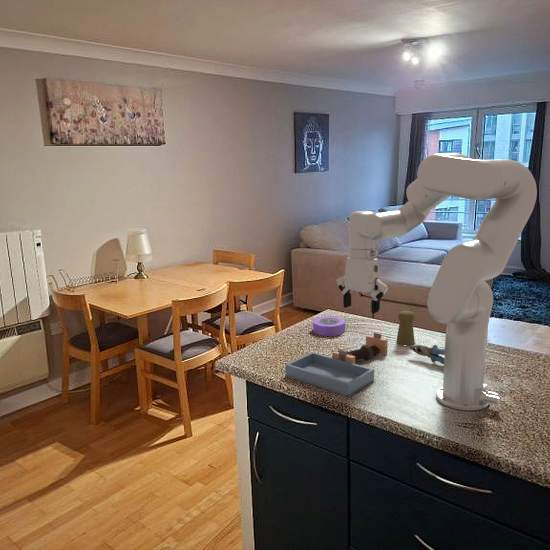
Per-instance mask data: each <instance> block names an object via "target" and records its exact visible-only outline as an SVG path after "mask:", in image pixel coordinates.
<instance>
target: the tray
mask: <svg viewBox="0 0 550 550" xmlns="http://www.w3.org/2000/svg"><path fill="white" fill-rule="evenodd" d="M285 377H287V378H291V379H294V380H295V381H296V380H297V381H300V382H303V383H306V384H309V385H312V386H315V387H317V386H318V387H317V388H320V387H321V388H320V389H324V390H327V391H329V392H332V393H335V394H338V395H341V396H345V397H347V398H350V397H351V396H353V395H354V394H356V393H358V392H359V391H360V390H363V389H364V388H365V387H367V386H369V385H371V384H372V383H374V382H375V369H374V368H369V367H367V366H363V365H360V364H356V363H355V364H353V363H350V362H346V361H342V360H339V359H335V358H332V356H328V355H324V354H321V353H318V352H315V351H314V352H313V351H312V352H309V353H307V354H305V355H303V356H300V357H299V358H297V359H294V360H292V361H290V362H288V363H285Z"/></svg>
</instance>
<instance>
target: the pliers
mask: <svg viewBox="0 0 550 550" xmlns="http://www.w3.org/2000/svg"><path fill="white" fill-rule="evenodd" d="M409 350H411V351H412V352H414V353H415V354H417V355H418V356H419V355H420V356H422V357H427V358H429V359H430V361H431V362H432V363H435V362H438V363H440V364H441V365H444V358H445V357H443V356H445V348H439V347H438V345H437V344H433V345H432V346H431V347H428V346H426V345H422V344H414V345H411V346H409Z"/></svg>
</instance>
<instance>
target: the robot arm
mask: <svg viewBox="0 0 550 550" xmlns="http://www.w3.org/2000/svg"><path fill="white" fill-rule="evenodd" d="M416 174H417V175H416V176H417V178H416V179H414V180H413V181H412V182H411V183H410V184H409V185H408V186H407V188H406V192H405V193H406V197H407V200H408V201H407V202H405V204H403V205H402V206H400V207H399V208H397V209H395V210H391V211H390V210H389V211H383V212H376V213H375V212H373V211H370V210H356V211H353V212H351V213H350V215H349V219H348V220H349V225H348V226H349V230H348V231H349V233H348V236H349V237H348V244H349V245H348V256H347V258H346V263H345V268H344V275H342V276H341V277H339V278H336V284H337V285H338V289H339V291H341V295H342V296H343V299H342V300H343V308H346V309H348V308H349V307H351V306H352V293H351V292H352V291H353V292H356V293H357V292H359V293H364V294H369V295H370V296H371V298H372V300H371V306H370V309H371V310H370V311H371V314H373V315H374V314H377V313H378V312H379V311H380V308H381V305H380V303H381V302H380V301H381V300H382V298H383V297H384V296H385V295H386V294H387V291H388V290H389V286H388V285H387V284H386V283H384V282H383V281H382V280H381V273H380V266H379V259H378V258H377V257H378V256H379V254H380V253H379V251H378V250H377V251H376V241H383V240H387V239H393V238H395V239H396V238H401V237H403V236H405V235H407V234H408V233H411V231H412V230H414V229H416V228H417V227H418V226H419V225H421V224H422V223H424V222H425V220H426V219H427V217H429V215H430V212H431V211H433V210H434V209H435V208H436V207H437V206H439V205H441V203H443V202H444V201H446V200H447V199H448V198H450V197H456V198H461V199H466V200H472V201H486V200H495V201H494V203H493V205H492V207H491V208H489V210H488V212H487V213H486V214H485V216H484V217H483V220H482V222H481V224H480V227H479V229H478V231H477V233H476V235H475V236H474V237H473V239H472V240H470V241H466V242H461V243H459V244H457V245H455V246H454V247H451V249H449V251H448V252H447V253H446V254H445V256H444V258H443V260H442V261H441V264H440V267H439V269H438V271H437V274H436V276H435V279H434V280H433V283H432V285H431V288H430V290H429V292H428V296H427V309H428V312H429V314H430V316H431V318H432V319H433V320H434V321H436V322H437V323H439V324H443V325H446V329H445V341H444V349H445V355H444V357H443V358H444V364H443V381H442V382H443V384H442V385H443V386H441V387H439V388H438V389H437V390H436V394H435V395H436V399H437V401H439V402H440V403H441V404H442V405H444V406H447V407H449V408H452V409H455V410H461V411H479V410H482V409H485V408H487V407H488V406H489V404H491V405H496V406H499V405H500V402H501V397H499V393H498V392H493V391H489V389H488V383H484V381H485V380H484V379H485V366H486V351H487V348H486V347H487V341H488V339H487V338H488V330H489V329H488V328H489V321H490V317H491V314H492V313H491V312H492V310H493V305H494V295H493V290H492V289H491V287H490V285H489V283H487V282H486V281H489V280H492V279H494V278H496V277H499V276H500V275H501V274H502V273H503V272H504V269H505V268H506V266H507V264H508V261H509V259H511V258H510V257H511V256H512V253H513V251H514V249H515V247H516V245H517V243H518V241H519V239H520V236H522V235H521V234H522V232H523V230H524V228H525V227H526V224H527V222H528V221H529V219H530V217H531V215H532V213H533V211H534V208H535V204H536V202H537V196H538V195H537V193H538V189H537V183H536V180H535V178H534V176H533V174H532V172H531V171H530V169H529V168H528V167H527V166H526V165H524V164H523V163H521V162H519V161H517V160H512V159H507V158H499V159H497V158H496V159H495V158H494V159H474V158H469V157H468V156H466V155H464V154H461V153H457V152H451V153H450V152H443V153H442V152H441V153H439V152H438V153H437V152H436V153H432V154H430V155H427V157H425V158H424V159H423V160H422V161H421V162H420V164H419V166H418V169H417V173H416ZM379 290H380V292H379Z"/></svg>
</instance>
